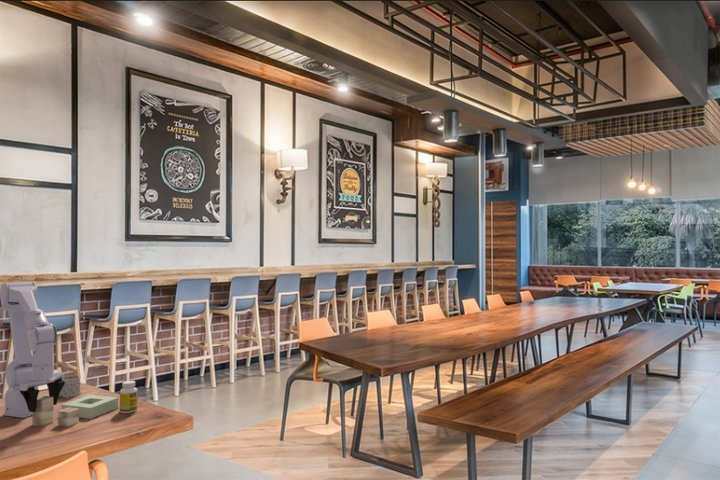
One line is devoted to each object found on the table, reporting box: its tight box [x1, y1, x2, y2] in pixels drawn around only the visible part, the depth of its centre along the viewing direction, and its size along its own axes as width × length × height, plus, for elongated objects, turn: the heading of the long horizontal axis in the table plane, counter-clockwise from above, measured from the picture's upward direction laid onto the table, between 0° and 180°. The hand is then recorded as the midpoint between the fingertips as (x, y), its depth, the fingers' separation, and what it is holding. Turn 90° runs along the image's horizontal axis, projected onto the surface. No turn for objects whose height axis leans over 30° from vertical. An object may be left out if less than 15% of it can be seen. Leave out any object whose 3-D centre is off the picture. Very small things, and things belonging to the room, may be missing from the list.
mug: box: [59, 374, 81, 399], centre depth 197 cm, size 10×7×7 cm
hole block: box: [61, 394, 119, 420], centre depth 179 cm, size 12×12×4 cm
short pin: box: [57, 407, 80, 428], centre depth 167 cm, size 4×4×4 cm
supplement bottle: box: [119, 380, 138, 414], centre depth 179 cm, size 5×5×10 cm
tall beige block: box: [31, 395, 54, 427], centre depth 167 cm, size 4×4×8 cm
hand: (43, 407), depth 167 cm, fingers open, 7 cm apart
